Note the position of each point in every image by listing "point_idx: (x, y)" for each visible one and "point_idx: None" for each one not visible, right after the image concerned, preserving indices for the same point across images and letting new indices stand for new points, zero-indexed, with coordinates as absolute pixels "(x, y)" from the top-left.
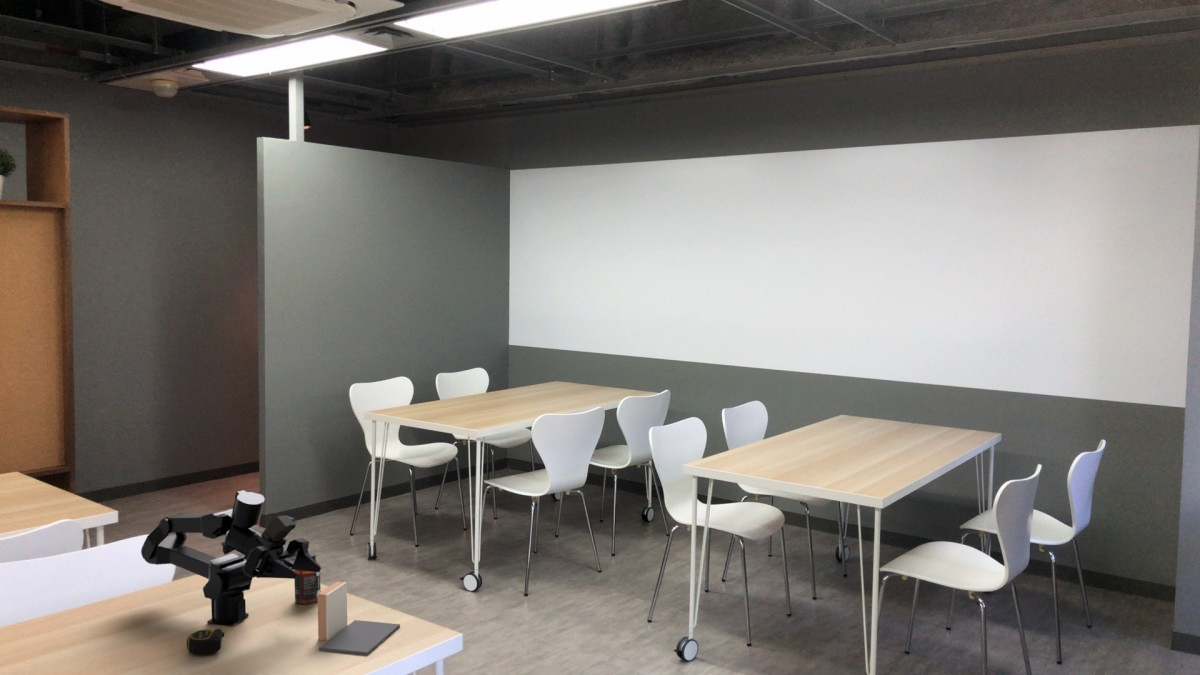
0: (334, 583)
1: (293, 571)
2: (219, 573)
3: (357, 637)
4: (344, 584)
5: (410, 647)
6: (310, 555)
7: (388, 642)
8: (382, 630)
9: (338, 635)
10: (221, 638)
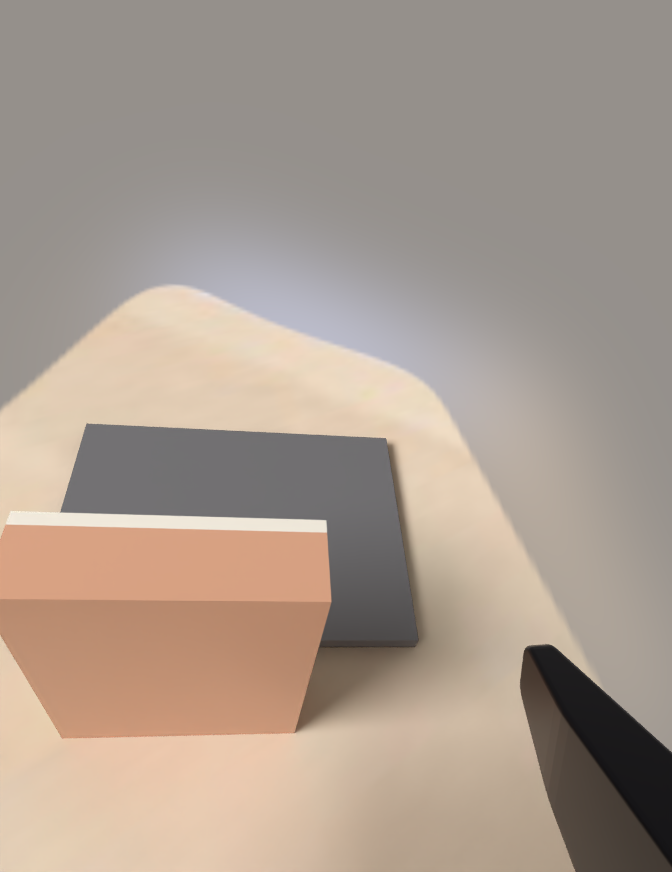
0: (41, 592)
1: (579, 682)
2: None
3: None
4: (50, 516)
5: (279, 354)
6: None
7: (254, 422)
8: (166, 460)
9: None
10: None
